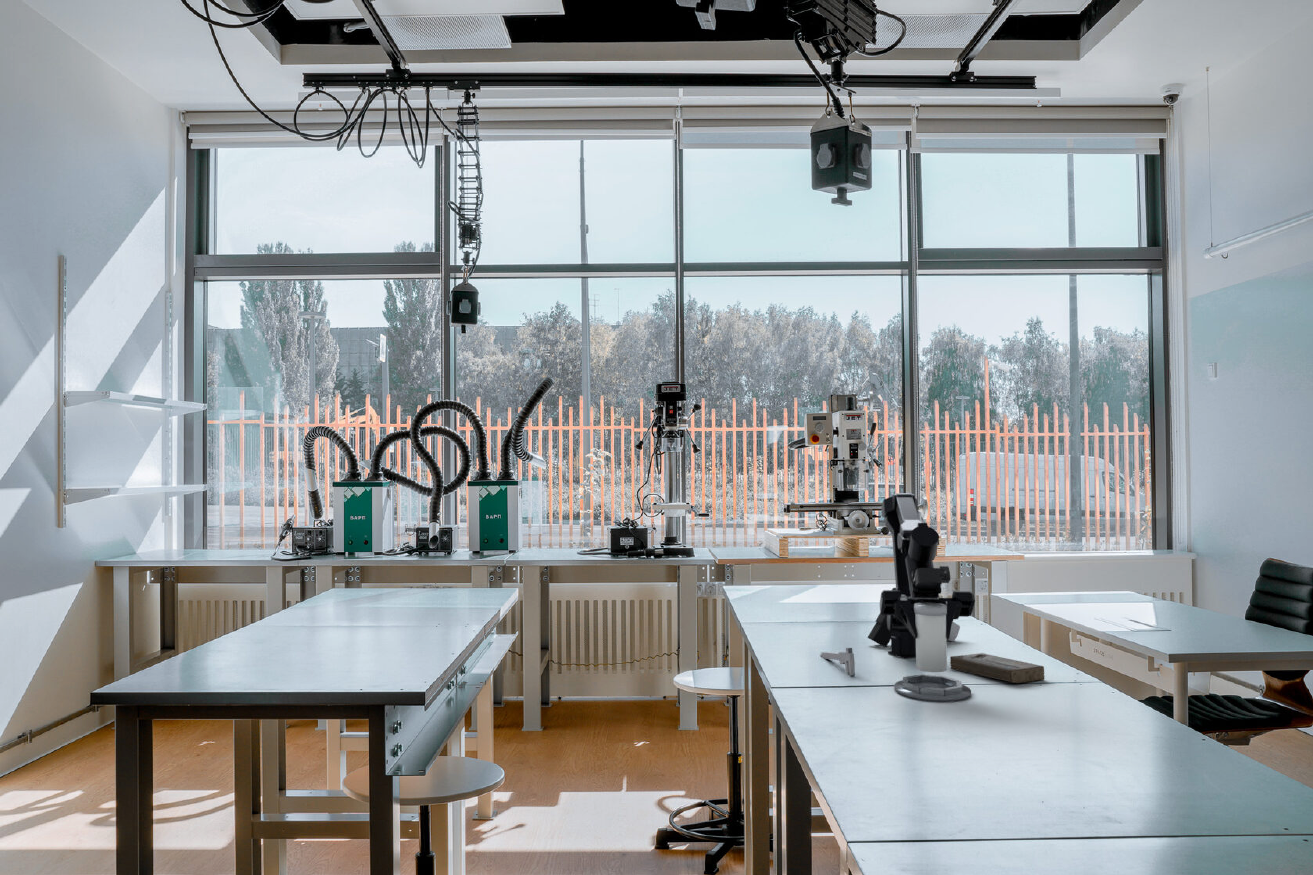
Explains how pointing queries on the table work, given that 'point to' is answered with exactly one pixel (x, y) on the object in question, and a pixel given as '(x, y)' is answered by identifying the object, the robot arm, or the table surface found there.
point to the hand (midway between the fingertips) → (932, 637)
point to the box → (997, 667)
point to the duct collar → (932, 688)
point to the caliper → (843, 659)
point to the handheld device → (883, 634)
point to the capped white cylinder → (931, 636)
